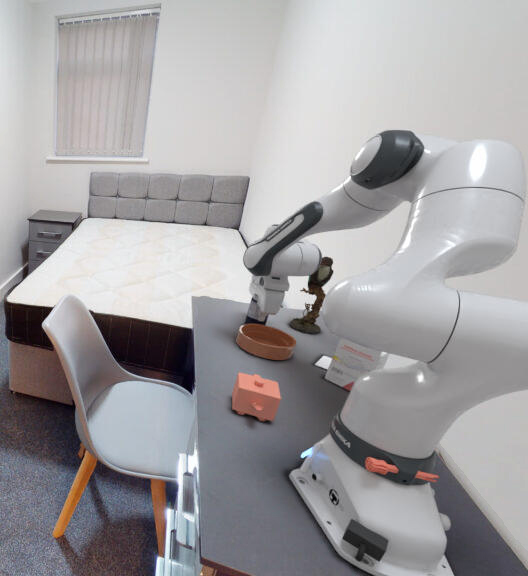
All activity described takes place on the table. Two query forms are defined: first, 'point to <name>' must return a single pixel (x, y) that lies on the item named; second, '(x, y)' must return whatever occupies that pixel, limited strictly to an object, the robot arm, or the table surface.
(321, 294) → the sculpture
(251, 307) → the beverage can
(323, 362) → the white box
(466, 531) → the table surface
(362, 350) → the ink cartridge box
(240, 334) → the orange round dish
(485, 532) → the table surface
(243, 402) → the pink cube teapot
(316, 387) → the table surface
